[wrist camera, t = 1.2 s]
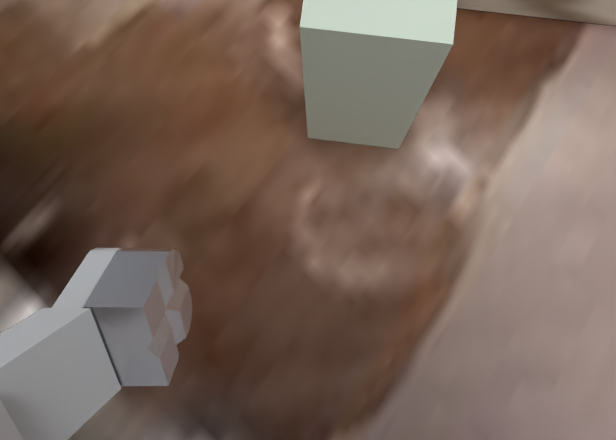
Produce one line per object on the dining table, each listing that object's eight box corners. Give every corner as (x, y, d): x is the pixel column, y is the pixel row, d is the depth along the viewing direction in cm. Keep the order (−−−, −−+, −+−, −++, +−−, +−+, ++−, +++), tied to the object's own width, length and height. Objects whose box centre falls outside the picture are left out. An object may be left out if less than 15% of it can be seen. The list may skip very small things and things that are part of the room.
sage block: (307, 137, 32) (299, 26, 19) (319, 51, 32) (319, -112, 20) (398, 148, 32) (453, 44, 19) (408, 62, 32) (467, -97, 19)
